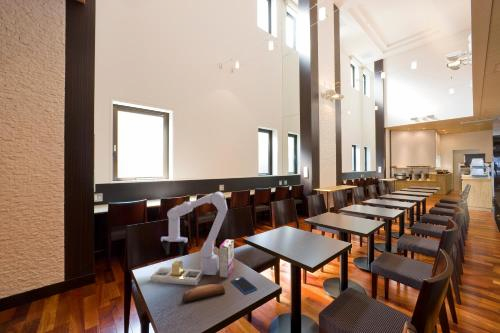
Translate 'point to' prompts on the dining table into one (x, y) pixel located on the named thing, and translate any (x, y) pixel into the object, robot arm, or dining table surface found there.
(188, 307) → the dining table surface
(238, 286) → the cell phone
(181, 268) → the brass block
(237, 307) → the dining table surface
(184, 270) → the white compartment tray
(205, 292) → the brown rounded bar
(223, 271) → the candy bar box
